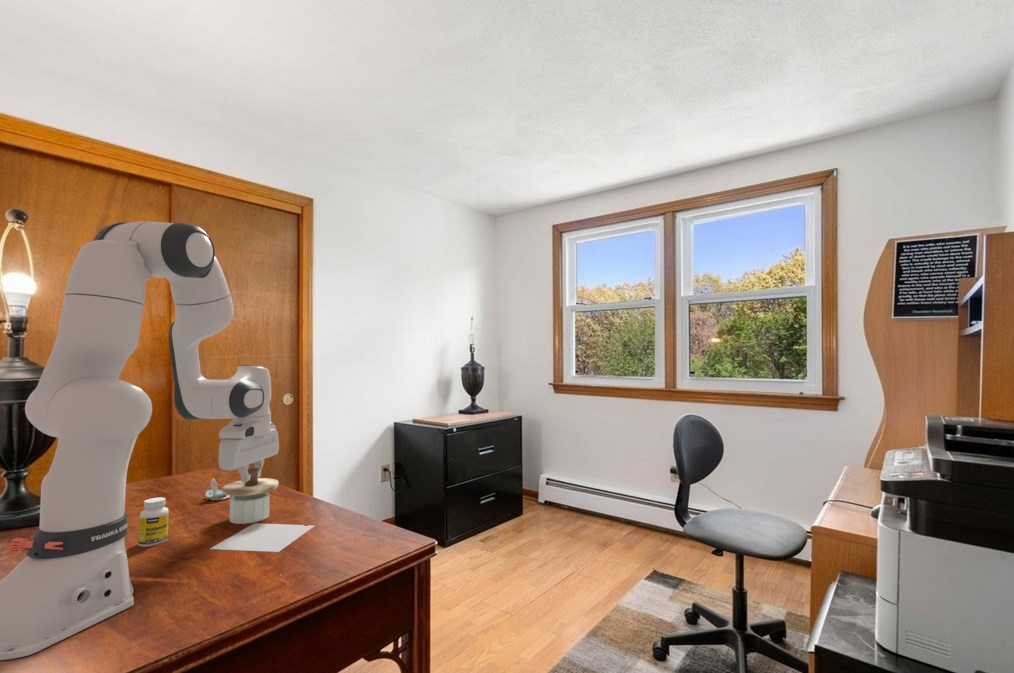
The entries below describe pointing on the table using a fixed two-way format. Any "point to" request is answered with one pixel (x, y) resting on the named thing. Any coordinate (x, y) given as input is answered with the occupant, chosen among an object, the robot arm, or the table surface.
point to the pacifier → (215, 492)
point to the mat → (263, 537)
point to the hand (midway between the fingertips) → (251, 479)
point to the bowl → (249, 508)
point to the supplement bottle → (153, 522)
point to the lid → (250, 485)
